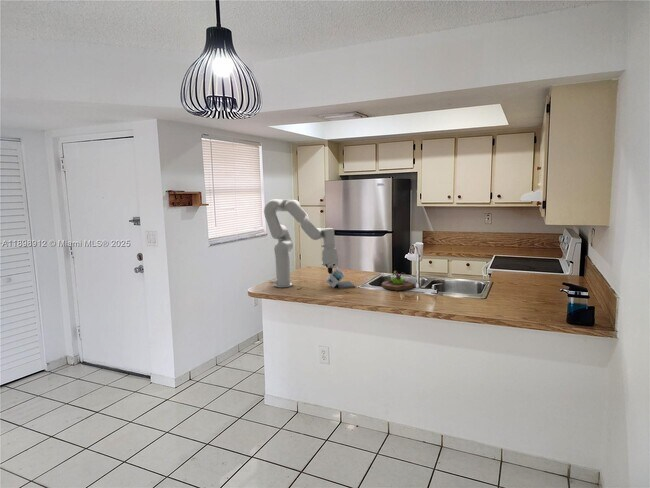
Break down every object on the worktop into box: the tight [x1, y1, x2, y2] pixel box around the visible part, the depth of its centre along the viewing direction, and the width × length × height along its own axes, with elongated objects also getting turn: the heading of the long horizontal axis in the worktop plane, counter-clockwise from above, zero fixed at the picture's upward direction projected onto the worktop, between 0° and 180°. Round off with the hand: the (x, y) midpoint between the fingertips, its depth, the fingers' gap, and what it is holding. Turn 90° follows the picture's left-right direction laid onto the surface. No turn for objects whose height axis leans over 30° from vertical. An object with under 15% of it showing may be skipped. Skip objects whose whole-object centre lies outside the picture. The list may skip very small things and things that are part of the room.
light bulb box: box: [325, 267, 345, 288], centre depth 271 cm, size 11×7×11 cm
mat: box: [335, 280, 356, 290], centre depth 274 cm, size 11×16×2 cm
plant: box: [381, 270, 416, 291], centre depth 269 cm, size 20×20×11 cm
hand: (330, 273), depth 272 cm, fingers closed
